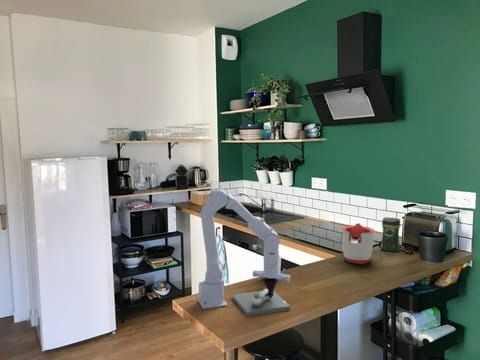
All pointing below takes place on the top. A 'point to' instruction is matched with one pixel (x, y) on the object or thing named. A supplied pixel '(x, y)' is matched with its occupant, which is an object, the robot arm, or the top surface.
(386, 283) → the top surface
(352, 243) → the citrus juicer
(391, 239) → the coffee jar
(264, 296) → the lever
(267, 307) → the plate
